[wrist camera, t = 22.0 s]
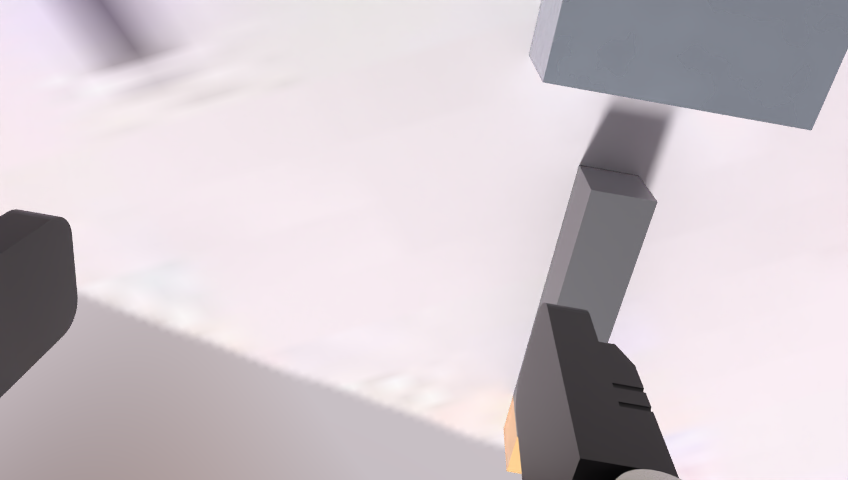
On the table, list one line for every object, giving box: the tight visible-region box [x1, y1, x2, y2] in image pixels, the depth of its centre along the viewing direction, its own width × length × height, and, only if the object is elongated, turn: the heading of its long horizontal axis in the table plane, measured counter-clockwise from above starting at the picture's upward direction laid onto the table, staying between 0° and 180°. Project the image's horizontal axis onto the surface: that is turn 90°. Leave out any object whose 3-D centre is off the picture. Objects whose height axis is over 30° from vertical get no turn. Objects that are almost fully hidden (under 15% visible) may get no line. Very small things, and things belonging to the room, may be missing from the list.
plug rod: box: [504, 165, 657, 474], centre depth 39 cm, size 4×20×4 cm, turn 171°
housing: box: [529, 0, 848, 130], centre depth 29 cm, size 12×8×7 cm, turn 81°
